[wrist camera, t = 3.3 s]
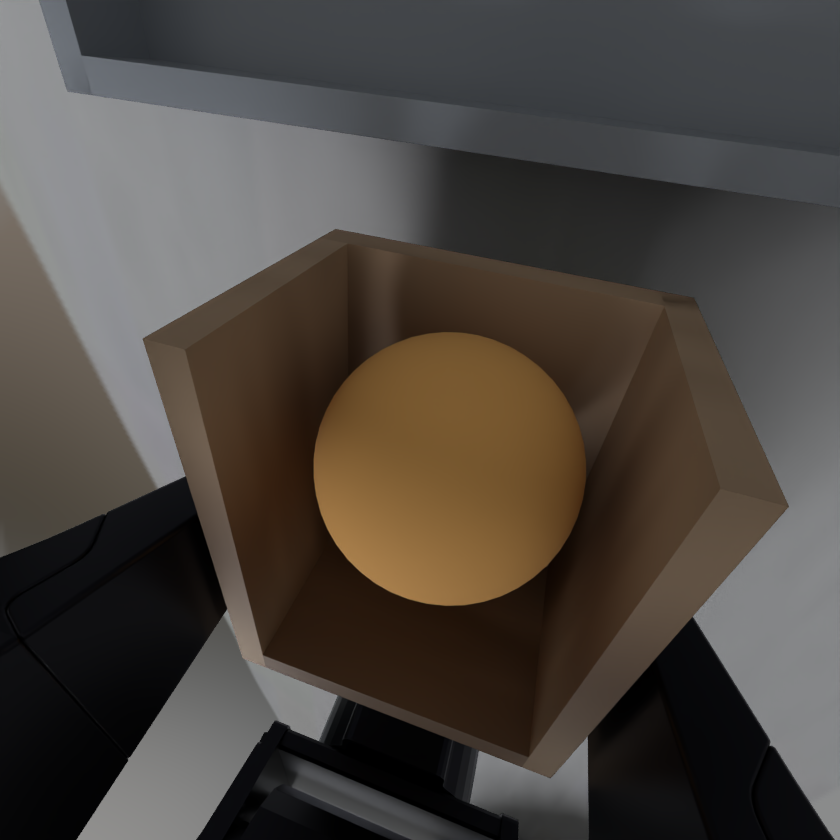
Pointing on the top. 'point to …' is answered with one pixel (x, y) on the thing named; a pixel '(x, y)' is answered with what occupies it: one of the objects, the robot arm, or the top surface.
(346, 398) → the ball
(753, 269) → the top surface
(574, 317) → the scoop
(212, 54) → the tray
